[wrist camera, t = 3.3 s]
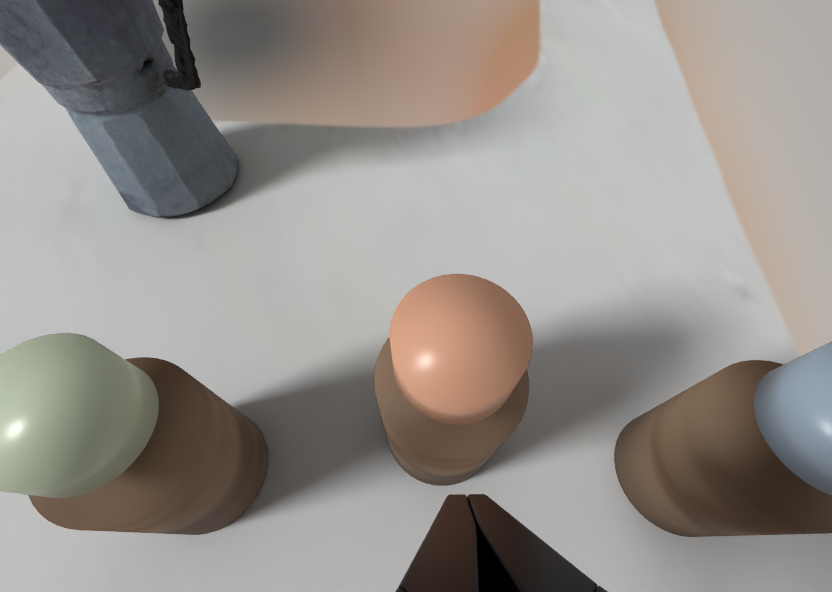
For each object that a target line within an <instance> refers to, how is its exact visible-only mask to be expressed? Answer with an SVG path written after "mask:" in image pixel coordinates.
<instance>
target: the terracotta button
mask: <svg viewBox="0 0 832 592" xmlns="http://www.w3.org/2000/svg"><path fill="white" fill-rule="evenodd" d="M390 345H391V353H392V362H393V370H394V376H395V380H396V383H397V385H398V388H399V390H400V392H401V393H402V395H403V397H404V398H405V399H406V400H407V402H408V403H409V404H410V405H411V406H412V407H413V408H414V409H415V410H417V411H418V412H419V413H421V414H422V415H424V416H426V417H428V418H430V419H432V420H435V421H437V422H441V423H445V424H453V425H464V424H470V423H474V422H478V421H480V420H483V419H485V418H487V417H489V416H490V415H492V414H493V413H495V412H496V411H497V410H498V409H499V408H501V406H502V405H503V404H504V403H505V402H506V400H507V399H508V397H509V396H510V394H511V392H512V391H513V389H514V388H515V386H516V385H517V383H518V382H519V380H520V378H521V377H522V375H523V374H524V372H525V371H526V369H527V366H528V364H529V362H530V358H531V354H532V346H533V340H532V331H531V327H530V324H529V321H528V318H527V316H526V314H525V312H524V311H523V309H522V307H521V306H520V304H519V303H518V302H517V301H516V300H515V298H513V297H512V296H511V295H510V294H509V293H508V292H507V291H506V290H504V289H503V288H502V287H500V286H498V285H496V284H495V283H493V282H491V281H488V280H486V279H483V278H480V277H477V276H472V275H465V274H449V275H442V276H438V277H434V278H432V279H429V280H427V281H425V282H423V283H421V284H419V285H417V286H416V287H415V288H413V289H412V290H411V291H410V292H408V293H407V294H406V296H405V297H404V298H403V299H402V300H401V302H400V303H399V305H398V306H397V308H396V310H395V312H394V314H393V318H392V321H391V326H390Z"/></svg>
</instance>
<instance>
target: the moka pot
mask: <svg viewBox="0 0 832 592" xmlns="http://www.w3.org/2000/svg"><path fill="white" fill-rule="evenodd" d="M159 5H160V6H161V8H162V10H163V14H164V22H165V24H166V29H167V33H168V36H169V39H170V41H171V43H172V44H174V49H175V63H176V67H177V69H178V71H177V69H176V68H175V67H174V66H173V62H172V58H171V56H170V54H169V52H168V50H167V48H166V46H165V45H164V43H163V41H162V35H163V32H164V29H163V26H162V24H161V21H160V18H159V16H158V13H157V11H156V8H155V6H154V3H153V0H0V45H1V46H2V47H3V48H4V49H5V50H6V51H7V52H8V53H9V54H10V55H11V56H12V57H13V58H14V59H15V60H16V61H17V62H18V63H19V64H20V65H21V66H22V67H23V68H24V69H25V70H26V71H27V72H28V73H29V74H30V75H31V76H32V77H33V78H34V79H36V80H37V81H38V82H39V83H40V84H42V85H43V86H44V87H45V89H46V90H47V91H48V92H49V93H50V94H51V96H52V97H53V98H54V99H55V100H56V101H57V103H59V104H61V105H62V106H63V107H65V108H66V110H67V112H68V113H69V115H70V117H71V118H72V120H73V122H74V124H75V125H76V127H77V128H78V130H79V131H80V133H81V134H82V136H83V137H84V139H85V140H86V142H87V144H88V145H89V147H90V148H91V150H92V151H93V153H94V155H95V156H96V158H97V159H98V161H99V162H100V164H101V165H102V167H103V168H104V170H105V172H106V173H107V175H108V176H109V178H110V179H111V181H112V183H113V184H114V186H115V187H116V189H117V190H118V192H119V193H120V195H121V197H122V198H123V200H124V201H125V203H126V204H127V206H128V207H129V209H131V210H133V211H135V212H137V213H141V214H144V215H149V216H152V217H172V216H178V215H182V214H185V213H189V212H192V211H195V210H197V209H199V208H201V207H203V206H205V205H207V204H209V203H211V202H212V201H214V200H215V199H216V198H218V197H219V196H221V195H222V194H223V193H224V192H225V191H226V190H228V189H230V187H231V186H232V184H233V182H234V180H235V177H236V175H237V170H238V158H237V157H236V155H235V154H234V152H233V151H232V149H231V148H230V146H229V145H228V144H227V142H226V140H225V139H224V137H223V136H222V135H221V133H220V132H219V130H218V129H217V128H216V126H215V125H214V123H213V122H212V120H211V119H210V117H209V116H208V114H207V113H206V111H205V110H204V108H203V107H202V105H201V104H200V102H199V101H198V99H197V98H196V96H195V95H194V93H193V92H192V90H194V89H195V88H200V87H201V82H200V79H199V77H198V73H197V69H196V67H195V65H194V64H195V57H194V55H193V53H192V51H191V49H190V38H189V35H188V32H187V23H186V21H185V16H184V13H183V2H182V0H159Z"/></svg>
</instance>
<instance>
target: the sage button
mask: <svg viewBox="0 0 832 592" xmlns="http://www.w3.org/2000/svg"><path fill="white" fill-rule="evenodd" d="M158 411H159V400H158V394H157V390H156V387H155V385H154V383H153V381H152V380H151V379H150V377H149V376H148V375H147V374H146V373H145V372H144V371H142V370H141V369H139V368H137V367H136V366H134V365H133V364H131V363H130V362H128V361H127V360H125V359H123V358H122V357H120V356H119V355H117V354H116V353H114V352H112V351H111V350H109V349H108V348H106V347H105V346H103V345H101V344H100V343H98V342H97V341H95V340H94V339H91V338H89V337H87V336H83V335H79V334H73V333H57V334H49V335H45V336H41V337H37V338H34V339H31V340H28V341H26V342H23V343H21V344H19V345H17V346H15V347H13V348H11V349H9V350H7V351H6V352H4V353H3V354H1V355H0V491H3V492H11V493H18V494H26V495H34V496H42V497H50V498H70V497H77V496H80V495H84V494H87V493H89V492H92V491H94V490H97V489H99V488H100V487H102V486H104V485H106V484H108V483H109V482H111V481H112V480H114V479H115V478H116V477H118V476H119V475H120V474H121V473H123V472H124V471H125V470H126V469H127V468H128V467H129V466H130V465H131V464H132V463H133V462H134V461H135V460H136V458H137V457H138V456H139V455H140V454H141V452H142V451H143V449H144V448H145V446H146V445H147V443H148V441H149V439H150V437H151V435H152V433H153V431H154V428H155V425H156V422H157V417H158Z"/></svg>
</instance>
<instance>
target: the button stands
mask: <svg viewBox="0 0 832 592" xmlns="http://www.w3.org/2000/svg"><path fill="white" fill-rule="evenodd" d="M126 360H127V361H128V362H130V363H131V364H133V365H134V366H136V367H137V368H139V369H141V370H142V371H144V372H145V373H146V374H147V375H148V376H149V377H150V379H151V380H152V381H153V383H154V385H155V387H156V390H157V394H158V400H159V411H158V417H157V422H156V425H155V428H154V431H153V433H152V435H151V437H150V439H149V441H148V443H147V445H146V446H145V448H144V449H143V451H142V452H141V454H140V455H139V456H138V457H137V458H136V460H135V461H134V462H133V463H132V464H131V465H130V466H129V467H128V468H127V469H126V470H125V471H124V472H123V473H121V474H120V475H119V476H118V477H116V478H115V479H114V480H112V481H111V482H109V483H108V484H106V485H104V486H102V487H100V488H99V489H97V490H94V491H92V492H89V493H87V494H84V495H80V496H77V497H70V498H50V497H42V496H34V495H29V498H30V500H31V502H32V504H33V506H34V507H35V508H36V509H37V511H38V512H39V513H40V514H41V515H42V516H43V517H44V518H46V519H47V520H48V521H50V522H52V523H54V524H56V525H58V526H61V527H64V528H68V529H75V530H92V531H116V532H140V533H164V534H188V535H199V534H206V533H210V532H213V531H216V530H219V529H221V528H223V527H225V526H227V525H228V524H230V523H232V522H233V521H234V520H236V519H237V518H238V517H240V516H241V515H242V514H243V513H244V512H245V511H246V510H247V509H248V507H249V506H250V505H251V504H252V502H253V501H254V500H255V498H256V497H257V495H258V493H259V491H260V489H261V487H262V485H263V482H264V479H265V476H266V472H267V466H268V451H267V446H266V442H265V439H264V437H263V435H262V433H261V431H260V430H259V429H258V427H257V426H256V425H255V424H254V423H253V422H252V421H251V420H249V419H248V418H247V417H245V416H244V415H243V414H241V413H240V412H239V411H237V410H236V409H235V408H233V407H232V406H231V405H229V404H228V403H227V402H225V401H224V400H223V399H221V398H220V397H219V396H217V395H216V394H215V393H213V392H212V391H211V390H209V389H208V388H207V387H205V386H204V385H203V384H201V383H200V382H199V381H197V380H196V379H195V378H193V377H192V376H191V375H189V374H188V373H187V372H185V371H184V370H183V369H181V368H180V367H178V366H177V365H175V364H173V363H170V362H168V361H165V360H161V359H157V358H148V357H146V358H131V359H126ZM782 365H783V364H780V363H775V362H771V361H762V360H749V361H743V362H738V363H735V364H732V365H730V366H728V367H726V368H724V369H722V370H720V371H719V372H717V373H715V374H713V375H712V376H710V377H708V378H706V379H705V380H703V381H701V382H699V383H698V384H696V385H694V386H692V387H690V388H689V389H687V390H685V391H683V392H682V393H680V394H678V395H676V396H675V397H673V398H671V399H669V400H668V401H666V402H664V403H662V404H660V405H659V406H657V407H655V408H653V409H652V410H650V411H648V412H646V413H645V414H643V415H641V416H639V417H638V418H636V419H634V420H633V421H631V422H630V423H628V424H627V425H626V426H625V427H624V429H623V430H622V431H621V433H620V435H619V437H618V439H617V442H616V446H615V453H614V461H615V469H616V473H617V477H618V479H619V482H620V485H621V487H622V489H623V491H624V493H625V494H626V496H627V497H628V499H629V501H630V502H631V503H632V504H633V506H634V507H635V508H636V509H637V510H638V511H639V512H640V513H641V514H642V515H643V516H644V517H645V518H646V519H647V520H649V521H650V522H651V523H653V524H654V525H656V526H658V527H659V528H661V529H663V530H665V531H668V532H670V533H673V534H676V535H680V536H687V537H702V536H740V535H779V534H817V533H832V496H831V495H828V494H826V493H824V492H822V491H820V490H818V489H816V488H814V487H812V486H811V485H809V484H807V483H806V482H805V481H803V480H802V479H800V478H799V477H798V476H796V475H795V474H794V473H793V472H792V471H791V470H789V469H788V468H787V467H786V466H785V465H784V464H783V463H782V462H781V461H780V459H779V458H778V457H777V456H776V455H775V453H774V452H773V451H772V449H771V448H770V447H769V445H768V444H767V442H766V440H765V438H764V437H763V435H762V433H761V431H760V428H759V426H758V423H757V420H756V416H755V411H754V396H755V391H756V388H757V386H758V384H759V382H760V380H761V379H762V378H763V377H764V376H765V375H766V374H767V373H769V372H770V371H772V370H774V369H776V368H778V367H780V366H782ZM374 386H375V394H376V398H377V402H378V406H379V410H380V414H381V418H382V421H383V425H384V429H385V433H386V437H387V441H388V444H389V447H390V450H391V453H392V454H393V456H394V458H395V460H396V461H397V462H398V464H399V465H400V466H401V467H402V468H403V469H404V471H406V472H407V473H408V474H409V475H411V476H412V477H414V478H416V479H417V480H419V481H422V482H424V483H428V484H431V485H439V486H441V485H452V484H456V483H460V482H462V481H464V480H466V479H468V478H470V477H471V476H473V475H474V474H475V473H477V472H478V471H479V470H480V469H481V468H482V466H483V465H484V464H485V463H486V462H487V461H488V460H489V459H490V457H491V456H492V455H493V454H494V453H495V452H496V451H497V449H498V448H499V447H500V446H501V445H502V444H503V443H504V441H505V440H506V439H507V438H508V437H509V436H510V435H511V433H512V432H513V431H514V430H515V428H516V427H517V425H518V424H519V422H520V420H521V419H522V416H523V414H524V412H525V409H526V405H527V401H528V394H529V379H528V373H527V369H526V371H525V372H524V374H523V375H522V377H521V378H520V380H519V382H518V383H517V385H516V386H515V388H514V389H513V391H512V392H511V394H510V396H509V397H508V399H507V400H506V402H505V403H504V404H503V405H502V406H501V408H499V409H498V410H497V411H496V412H495V413H493V414H492V415H490V416H489V417H487V418H485V419H483V420H480V421H478V422H474V423H470V424H464V425H453V424H445V423H441V422H437V421H435V420H432V419H430V418H428V417H426V416H424V415H422V414H421V413H419V412H418V411H417V410H415V409H414V408H413V407H412V406H411V405H410V404H409V403H408V402H407V400H406V399H405V398H404V397H403V395H402V393H401V392H400V390H399V388H398V385H397V383H396V380H395V376H394V370H393V362H392V353H391V345H390V337H389V338H388V339H387V341H386V342H385V344H384V346H383V347H382V349H381V352H380V354H379V356H378V359H377V363H376V367H375V373H374Z"/></svg>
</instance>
